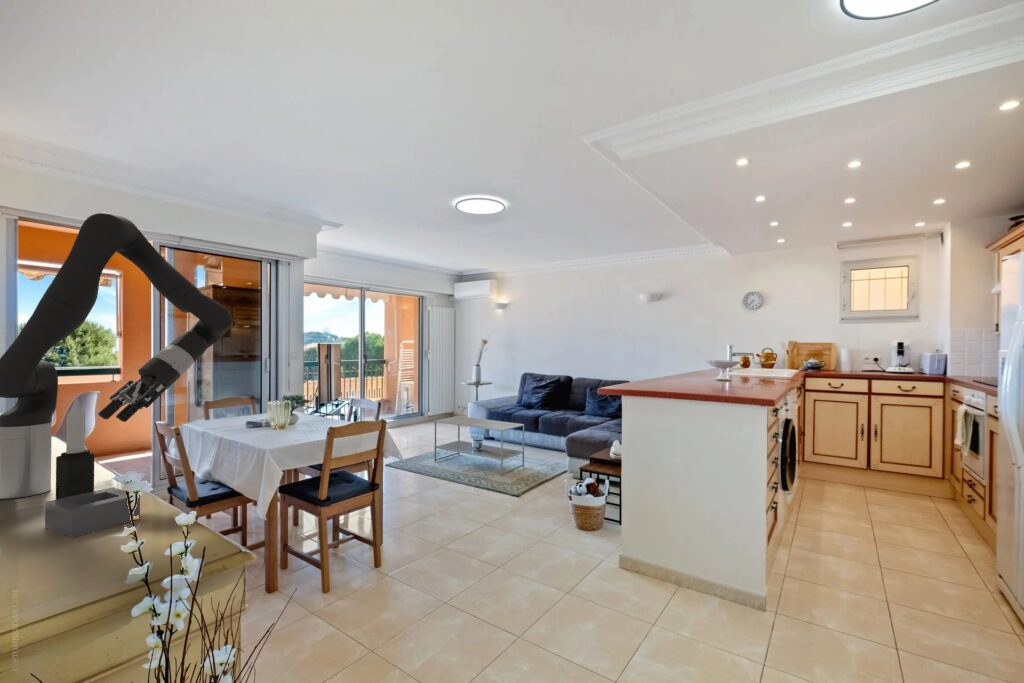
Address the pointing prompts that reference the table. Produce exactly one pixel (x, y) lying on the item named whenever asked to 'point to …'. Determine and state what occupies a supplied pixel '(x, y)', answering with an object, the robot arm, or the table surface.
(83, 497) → the holder
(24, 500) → the table surface
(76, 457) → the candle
